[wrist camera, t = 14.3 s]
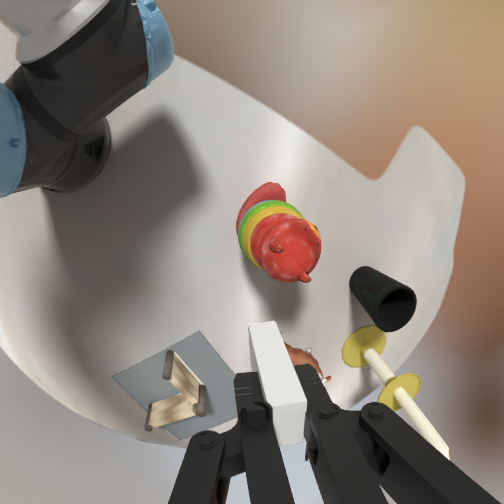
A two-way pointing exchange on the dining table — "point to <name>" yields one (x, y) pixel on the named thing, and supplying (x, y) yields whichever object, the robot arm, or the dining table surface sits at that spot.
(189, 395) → the fence fixed
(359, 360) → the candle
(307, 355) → the bull figurine
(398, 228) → the dining table surface
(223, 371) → the card
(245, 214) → the stacking bear
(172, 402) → the fence hinged
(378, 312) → the cup
